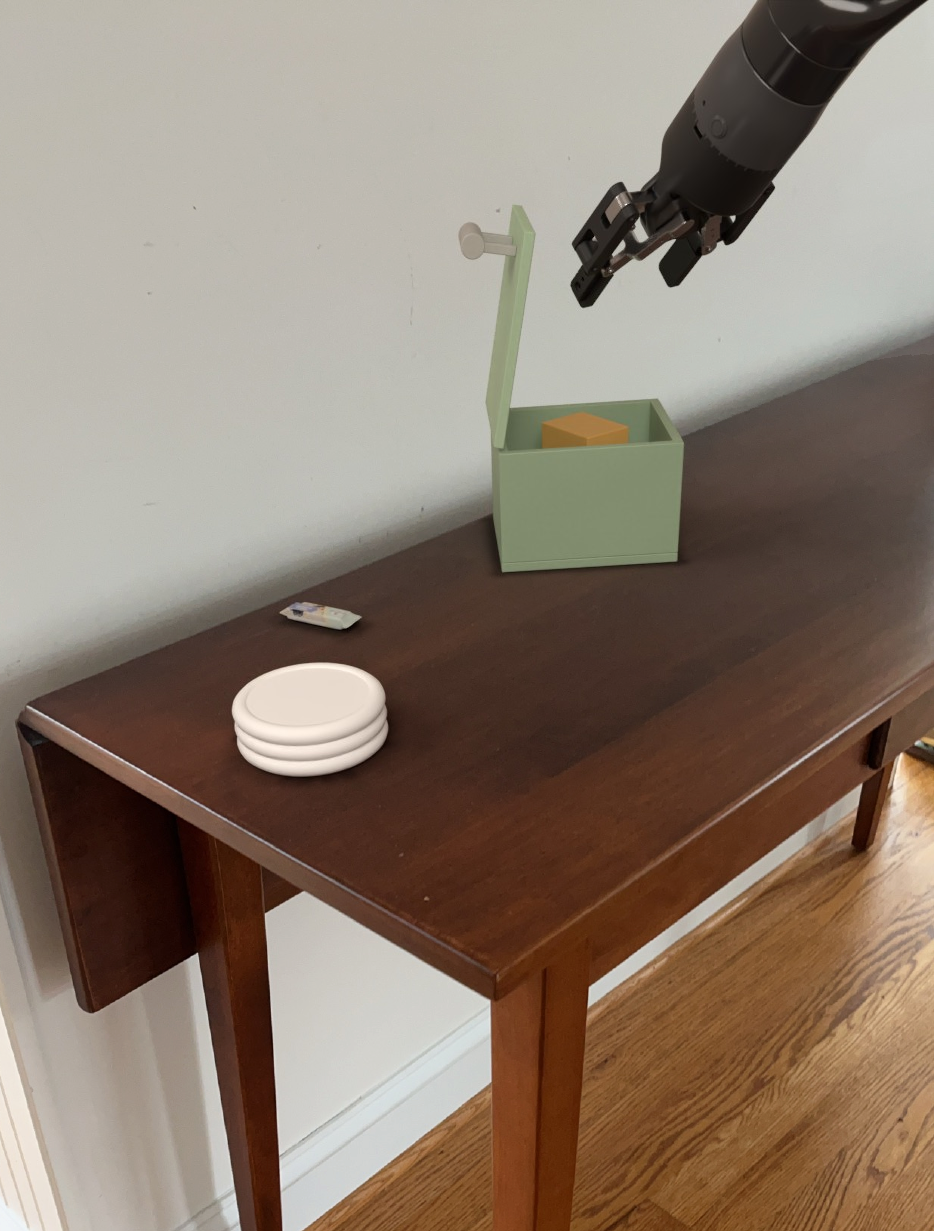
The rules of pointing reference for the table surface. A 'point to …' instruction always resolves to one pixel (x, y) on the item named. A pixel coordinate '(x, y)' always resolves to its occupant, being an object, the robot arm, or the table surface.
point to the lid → (504, 308)
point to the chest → (588, 491)
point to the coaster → (310, 719)
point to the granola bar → (320, 615)
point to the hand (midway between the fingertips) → (623, 287)
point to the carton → (582, 431)
